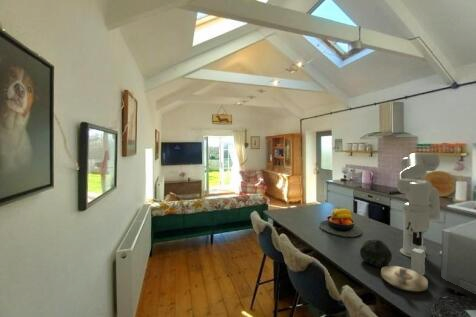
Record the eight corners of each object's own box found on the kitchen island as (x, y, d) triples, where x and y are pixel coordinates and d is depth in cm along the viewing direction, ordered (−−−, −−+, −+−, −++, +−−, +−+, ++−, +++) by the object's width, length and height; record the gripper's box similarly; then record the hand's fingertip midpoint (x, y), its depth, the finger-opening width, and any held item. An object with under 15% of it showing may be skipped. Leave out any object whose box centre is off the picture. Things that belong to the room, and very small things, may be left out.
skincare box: (420, 277, 114) (421, 253, 113) (410, 273, 118) (410, 250, 117) (425, 273, 117) (425, 250, 117) (414, 269, 121) (415, 247, 121)
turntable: (427, 277, 110) (427, 261, 110) (428, 296, 96) (429, 277, 96) (383, 265, 121) (383, 251, 121) (378, 281, 107) (379, 264, 107)
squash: (364, 244, 140) (362, 231, 131) (393, 252, 130) (393, 238, 122) (359, 266, 132) (356, 253, 124) (390, 276, 123) (389, 263, 114)
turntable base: (397, 273, 118) (398, 269, 118) (429, 288, 105) (429, 284, 105) (379, 278, 113) (379, 275, 113) (409, 295, 100) (409, 291, 100)
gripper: (421, 204, 116) (420, 239, 117) (398, 207, 112) (397, 243, 113) (438, 208, 108) (436, 245, 110) (414, 211, 104) (413, 250, 106)
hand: (417, 244), depth 111 cm, fingers closed
